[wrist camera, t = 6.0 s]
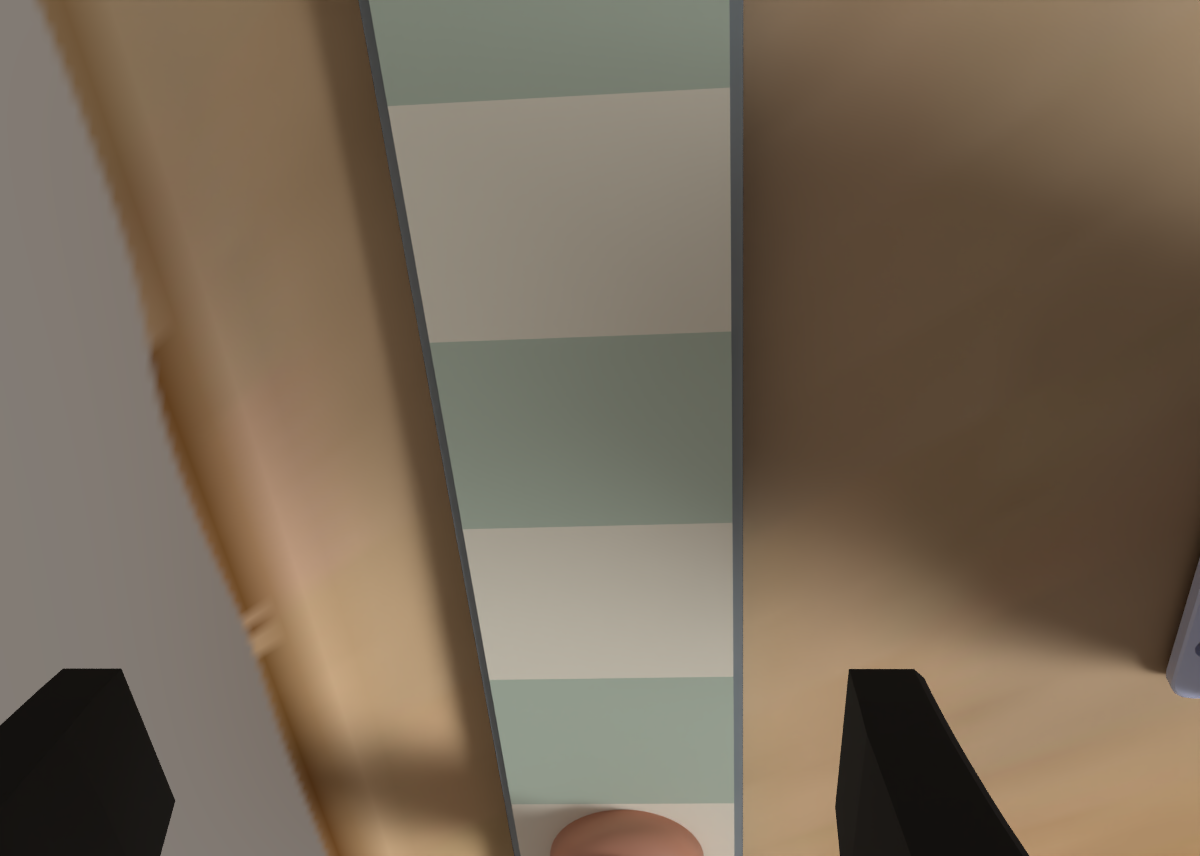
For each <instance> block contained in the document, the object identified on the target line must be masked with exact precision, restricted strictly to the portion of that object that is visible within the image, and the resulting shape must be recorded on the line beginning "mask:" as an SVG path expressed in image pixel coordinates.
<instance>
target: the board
mask: <svg viewBox="0 0 1200 856" xmlns="http://www.w3.org/2000/svg"><path fill="white" fill-rule="evenodd" d="M358 1H359V6H360V11H361V17H362V22H363V28H364V33H365V39H366V44H367V50H368V55H369V61H370V66H371V72H372V77H373V83H374V88H375V94H376V99H377V105H378V110H379V116H380V121H381V127H382V132H383V138H384V143H385V149H386V154H387V160H388V165H389V171H390V176H391V182H392V187H393V192H394V198H395V203H396V209H397V214H398V220H399V225H400V231H401V236H402V242H403V247H404V253H405V258H406V264H407V269H408V275H409V280H410V286H411V291H412V297H413V302H414V308H415V313H416V319H417V324H418V330H419V335H420V341H421V346H422V352H423V357H424V363H425V368H426V373H427V379H428V384H429V390H430V395H431V401H432V406H433V412H434V417H435V423H436V428H437V434H438V439H439V445H440V450H441V456H442V461H443V467H444V472H445V478H446V483H447V489H448V494H449V500H450V505H451V511H452V516H453V522H454V527H455V533H456V538H457V544H458V549H459V554H460V560H461V565H462V571H463V576H464V582H465V587H466V593H467V598H468V604H469V609H470V615H471V620H472V626H473V631H474V637H475V642H476V648H477V653H478V659H479V664H480V670H481V675H482V681H483V686H484V692H485V697H486V703H487V708H488V714H489V719H490V725H491V730H492V735H493V741H494V746H495V752H496V757H497V763H498V768H499V774H500V779H501V785H502V790H503V796H504V801H505V807H506V812H507V818H508V823H509V829H510V834H511V840H512V845H513V851H514V856H550V851H551V846H552V843H553V841H554V839H555V838H556V836H557V834H558V833H559V832H560V831H561V830H562V829H563V828H564V827H566V826H567V825H568V824H570V823H572V822H573V821H575V820H577V819H579V818H581V817H583V816H586V815H590V814H593V813H597V812H601V811H609V810H638V811H645V812H649V813H654V814H657V815H661V816H664V817H666V818H668V819H671V820H673V821H675V822H677V823H679V824H680V825H682V826H683V827H685V828H686V829H687V830H689V831H690V832H691V833H692V834H693V835H694V836H695V838H696V839H697V840H698V842H699V843H700V845H701V847H702V850H703V854H704V856H743V0H358Z"/></svg>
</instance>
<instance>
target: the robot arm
mask: <svg viewBox="0 0 1200 856" xmlns="http://www.w3.org/2000/svg"><path fill="white" fill-rule="evenodd" d="M1166 678H1167V680H1168V682H1169V684H1170V686H1171V688H1172V690H1173V691H1174V692H1175V694H1177V695H1179V696H1181V697H1187V698H1200V558H1199V562H1198V565H1197V569H1196V572H1195V575H1194V579H1193V582H1192V585H1191V589H1190V592H1189V596H1188V599H1187V602H1186V606H1185V609H1184V612H1183V616H1182V619H1181V623H1180V626H1179V629H1178V633H1177V636H1176V639H1175V643H1174V646H1173V650H1172V653H1171V656H1170V660H1169V663H1168V666H1167V670H1166ZM174 803H175V799H174V797H173V794H172V792H171V789H170V787H169V784H168V782H167V780H166V777H165V775H164V772H163V770H162V767H161V765H160V763H159V760H158V758H157V755H156V753H155V750H154V748H153V745H152V743H151V740H150V738H149V736H148V733H147V730H146V728H145V726H144V723H143V721H142V718H141V716H140V713H139V711H138V708H137V706H136V704H135V701H134V699H133V696H132V694H131V691H130V689H129V686H128V684H127V681H126V679H125V677H124V674H123V672H122V669H62V670H61V671H60V672H59V673H58V674H57V675H55V676H54V677H53V678H52V679H51V680H50V681H49V682H47V683H46V684H45V685H44V686H43V687H42V688H41V689H40V690H38V691H37V692H36V693H35V694H34V695H33V696H32V697H31V698H30V699H28V700H27V701H26V702H25V703H24V704H23V705H22V706H21V707H20V708H19V709H18V710H16V711H15V712H14V714H12V715H11V716H10V717H9V718H8V719H7V720H6V721H5V722H4V723H2V724H1V725H0V856H160V855H161V851H162V847H163V844H164V840H165V836H166V833H167V829H168V825H169V821H170V818H171V814H172V811H173V807H174ZM835 809H836V819H837V829H838V840H839V850H840V856H1029V855H1028V853H1027V852H1026V850H1025V849H1024V847H1023V846H1022V844H1021V843H1020V841H1019V840H1018V838H1017V837H1016V835H1015V834H1014V832H1013V831H1012V829H1011V828H1010V826H1009V825H1008V823H1007V822H1006V820H1005V819H1004V817H1003V815H1002V814H1001V812H1000V811H999V809H998V808H997V806H996V804H995V803H994V801H993V800H992V798H991V796H990V795H989V793H988V792H987V790H986V788H985V787H984V785H983V783H982V782H981V780H980V778H979V777H978V775H977V773H976V772H975V770H974V768H973V767H972V765H971V763H970V762H969V760H968V758H967V757H966V755H965V753H964V752H963V750H962V748H961V746H960V745H959V743H958V741H957V739H956V738H955V736H954V734H953V732H952V730H951V729H950V727H949V725H948V723H947V721H946V720H945V718H944V716H943V714H942V712H941V710H940V708H939V706H938V705H937V703H936V701H935V699H934V697H933V695H932V693H931V691H930V689H929V687H928V685H927V683H926V681H925V679H924V678H923V677H922V676H921V675H920V674H919V673H918V672H917V671H915V670H914V669H849V675H848V685H847V695H846V705H845V715H844V725H843V735H842V745H841V755H840V765H839V775H838V785H837V795H836V805H835Z"/></svg>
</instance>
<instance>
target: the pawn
mask: <svg viewBox="0 0 1200 856" xmlns="http://www.w3.org/2000/svg"><path fill="white" fill-rule="evenodd" d="M550 856H704V854H703V850H702V847H701V845H700V843H699V842H698V840H697V839H696V838H695V836H694V835H693V834H692V833H691V832H690V831H689V830H687V829H686V828H685V827H683V826H682V825H680V824H679V823H677V822H675V821H673V820H671V819H668V818H666V817H664V816H661V815H657V814H654V813H649V812H645V811H638V810H609V811H601V812H597V813H593V814H590V815H586V816H583V817H581V818H579V819H577V820H575V821H573V822H572V823H570V824H568V825H567V826H566V827H564V828H563V829H562V830H561V831H560V832H559V833H558V834H557V836H556V838H555V839H554V841H553V843H552V846H551V851H550Z"/></svg>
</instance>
